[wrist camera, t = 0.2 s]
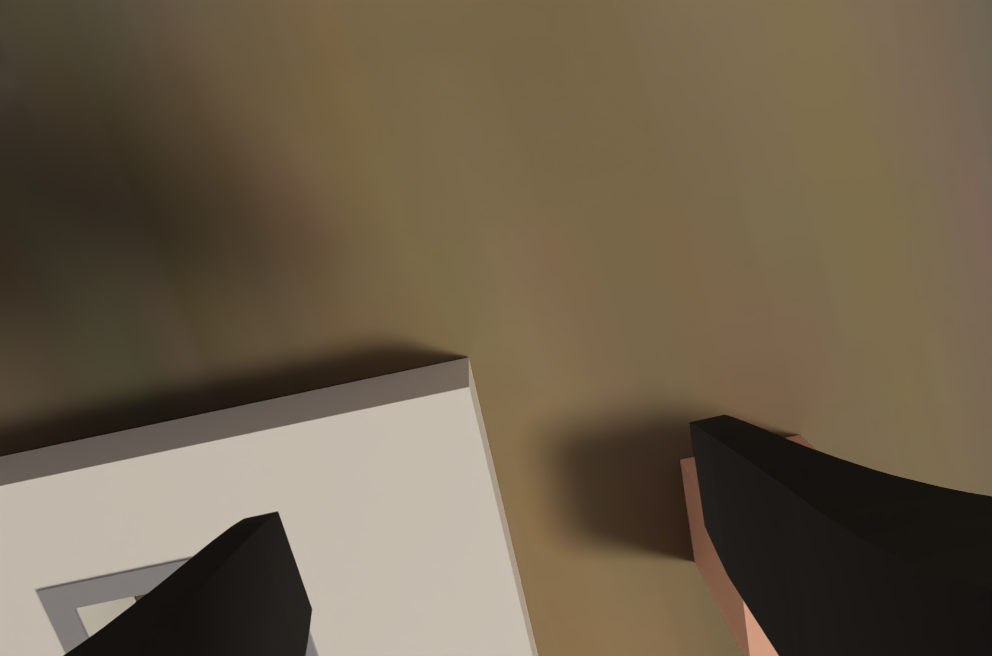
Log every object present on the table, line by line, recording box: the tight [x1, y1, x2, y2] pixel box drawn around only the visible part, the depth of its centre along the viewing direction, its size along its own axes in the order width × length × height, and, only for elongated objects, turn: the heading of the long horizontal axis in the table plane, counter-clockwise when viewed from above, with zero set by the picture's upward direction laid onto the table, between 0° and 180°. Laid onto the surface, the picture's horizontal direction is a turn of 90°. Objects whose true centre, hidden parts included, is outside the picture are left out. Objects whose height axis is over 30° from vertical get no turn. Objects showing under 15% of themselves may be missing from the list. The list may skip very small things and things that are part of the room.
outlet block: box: [0, 357, 538, 656], centre depth 22 cm, size 14×20×3 cm
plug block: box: [680, 435, 816, 656], centre depth 21 cm, size 4×4×5 cm
